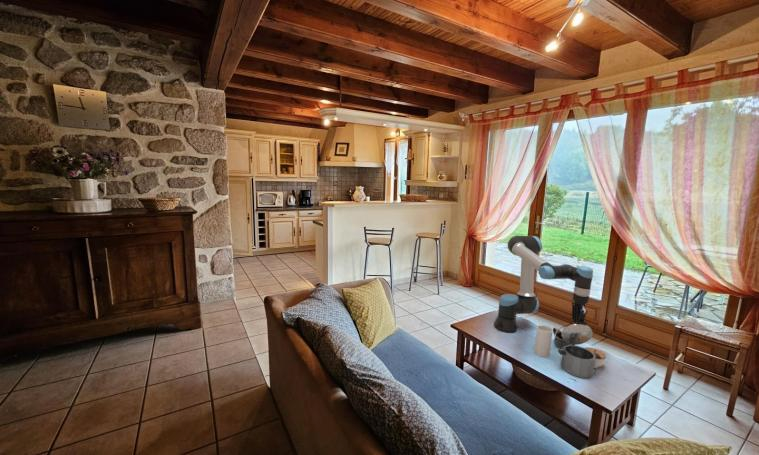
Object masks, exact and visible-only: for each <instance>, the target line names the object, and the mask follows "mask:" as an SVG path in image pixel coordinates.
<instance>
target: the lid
mask: <svg viewBox="0 0 759 455" xmlns="http://www.w3.org/2000/svg"><path fill="white" fill-rule="evenodd" d="M561 332H562V338H563V340H564V341H565V342H566V343H569V344H573V345H575V346H579V345H582V344H585V343H587V342H590V340H591V339H592V337H593V336H594V335H593V329H592V328H591V327H590V326H589V325H588V321H587V320H584V321H578V320H577V321H576V324H574V323H573V324H569V325H568V326H566V327H565V328H563V330H561Z"/></svg>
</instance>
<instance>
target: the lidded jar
mask: <svg viewBox="0 0 759 455" xmlns="http://www.w3.org/2000/svg"><path fill="white" fill-rule="evenodd" d="M585 348H586V349H587V350H589V351H591V352H593V353H595V354H598V355H599V356H600V357H601V359H596V358H595V364H594V369H598V368H600V367H602V366H603V365H604V364H605V362H606V358H607V355H606V353H605V352H603V351H602V350H600V349H597V348H596V347H595V348H594V347H588V346H587V347H585Z"/></svg>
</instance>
